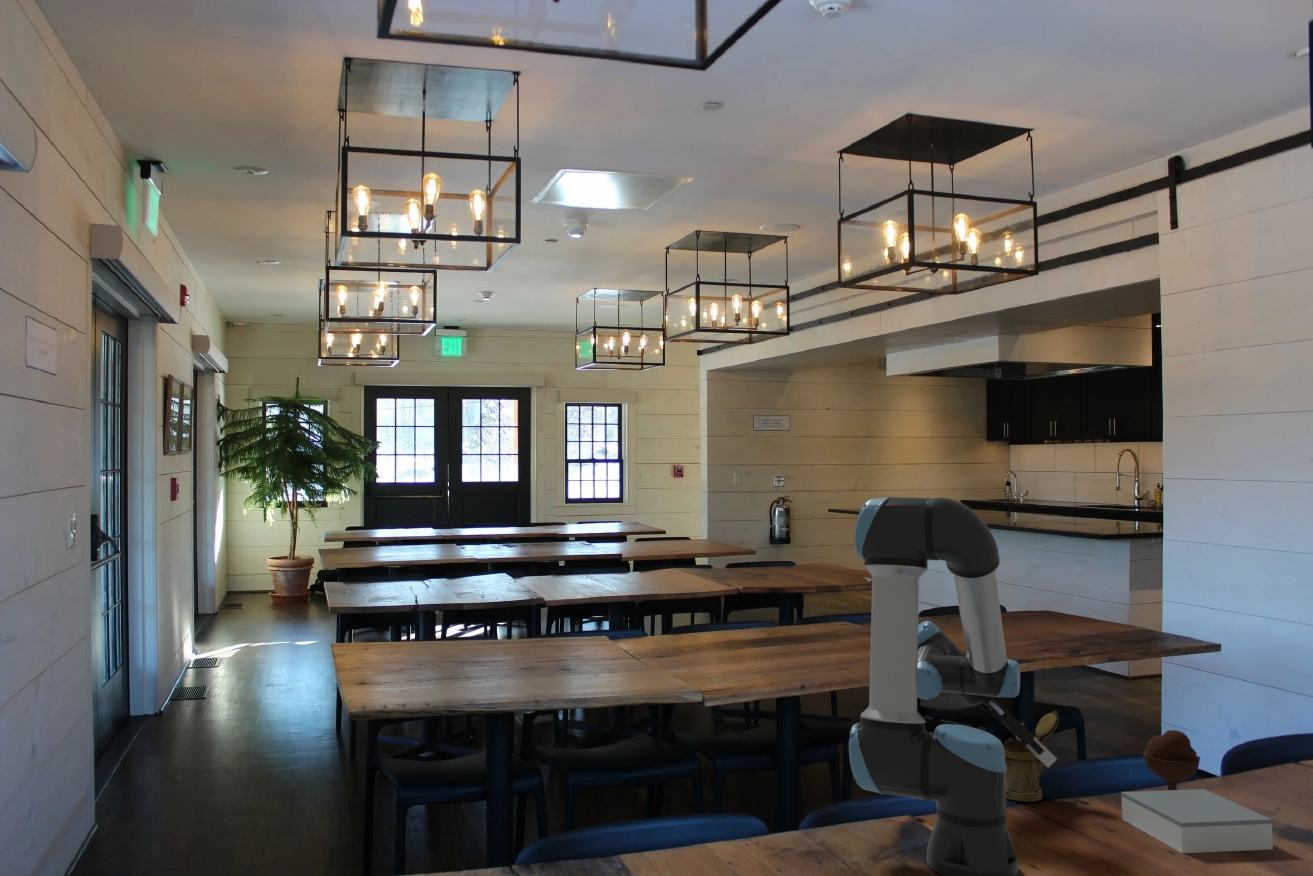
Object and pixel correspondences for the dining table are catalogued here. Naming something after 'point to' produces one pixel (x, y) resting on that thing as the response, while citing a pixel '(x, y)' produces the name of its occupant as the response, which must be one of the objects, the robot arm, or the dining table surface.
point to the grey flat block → (1197, 821)
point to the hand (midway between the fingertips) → (1047, 758)
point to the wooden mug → (1027, 763)
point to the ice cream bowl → (1171, 757)
